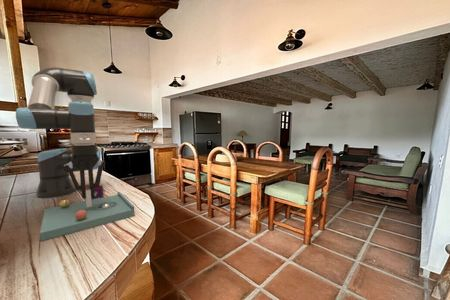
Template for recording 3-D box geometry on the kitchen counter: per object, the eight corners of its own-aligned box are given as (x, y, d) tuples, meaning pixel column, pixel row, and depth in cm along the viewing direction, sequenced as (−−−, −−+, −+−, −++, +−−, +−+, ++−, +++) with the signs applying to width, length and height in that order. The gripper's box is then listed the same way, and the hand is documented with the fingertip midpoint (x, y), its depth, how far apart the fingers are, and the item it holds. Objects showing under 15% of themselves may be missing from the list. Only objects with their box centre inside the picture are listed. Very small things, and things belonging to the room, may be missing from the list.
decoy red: (75, 219, 65) (74, 210, 65) (86, 216, 67) (86, 207, 67) (75, 222, 63) (74, 213, 63) (87, 219, 65) (87, 210, 65)
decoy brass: (59, 207, 76) (58, 199, 76) (70, 205, 78) (69, 197, 78) (59, 209, 73) (58, 201, 73) (70, 207, 76) (69, 199, 75)
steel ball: (107, 201, 79) (111, 207, 80) (99, 205, 77) (103, 211, 78) (109, 203, 77) (112, 209, 78) (100, 208, 75) (104, 214, 76)
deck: (45, 215, 75) (44, 205, 74) (119, 199, 92) (119, 191, 91) (40, 241, 57) (39, 229, 56) (134, 215, 73) (134, 206, 73)
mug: (86, 205, 85) (85, 190, 84) (86, 198, 93) (84, 185, 92) (104, 201, 89) (103, 187, 88) (102, 196, 97) (101, 182, 96)
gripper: (61, 145, 64) (67, 213, 67) (106, 144, 73) (110, 204, 75) (61, 144, 70) (66, 207, 72) (102, 143, 79) (106, 199, 81)
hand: (88, 205), depth 74 cm, fingers closed
